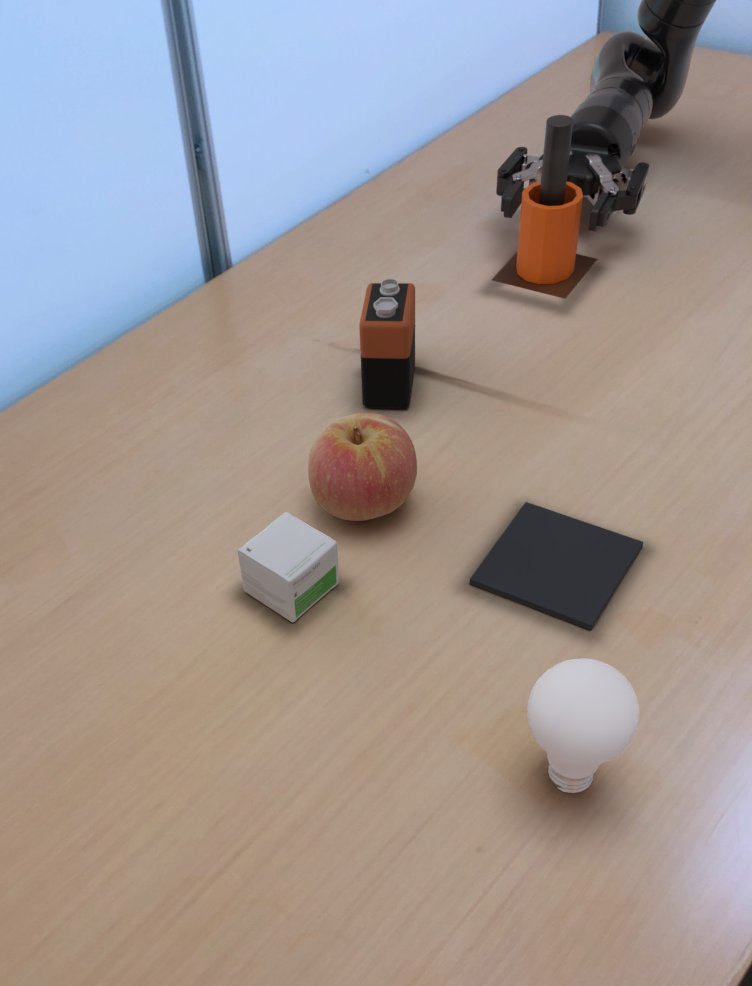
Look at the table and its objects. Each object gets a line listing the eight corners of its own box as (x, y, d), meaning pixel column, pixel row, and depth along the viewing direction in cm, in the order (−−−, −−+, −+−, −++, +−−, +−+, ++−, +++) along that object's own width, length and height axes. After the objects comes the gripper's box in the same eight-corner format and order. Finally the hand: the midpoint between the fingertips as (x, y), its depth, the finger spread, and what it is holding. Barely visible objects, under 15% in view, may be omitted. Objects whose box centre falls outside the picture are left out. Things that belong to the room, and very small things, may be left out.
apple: (431, 523, 90) (432, 447, 84) (329, 552, 89) (323, 477, 83) (394, 460, 96) (392, 384, 90) (297, 486, 95) (289, 411, 89)
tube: (582, 261, 112) (592, 186, 106) (559, 289, 109) (567, 213, 103) (531, 249, 114) (537, 175, 108) (507, 276, 111) (512, 201, 105)
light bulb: (574, 843, 70) (596, 743, 62) (497, 779, 74) (508, 677, 66) (641, 783, 73) (671, 679, 64) (563, 724, 76) (582, 619, 68)
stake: (596, 267, 113) (619, 109, 101) (564, 307, 109) (583, 147, 97) (524, 250, 116) (538, 95, 104) (490, 288, 112) (500, 131, 100)
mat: (642, 547, 86) (643, 541, 86) (590, 630, 81) (592, 625, 81) (525, 506, 91) (525, 501, 90) (469, 584, 86) (469, 578, 85)
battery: (361, 409, 101) (357, 315, 94) (370, 365, 105) (366, 271, 98) (409, 411, 100) (409, 315, 93) (415, 366, 105) (416, 272, 97)
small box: (293, 625, 85) (288, 582, 81) (241, 592, 87) (234, 548, 84) (342, 584, 87) (339, 539, 83) (290, 552, 90) (285, 507, 86)
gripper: (534, 96, 116) (481, 168, 107) (672, 111, 110) (629, 188, 101) (529, 166, 121) (478, 240, 112) (660, 183, 116) (617, 262, 107)
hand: (549, 215), depth 107 cm, fingers open, 8 cm apart
